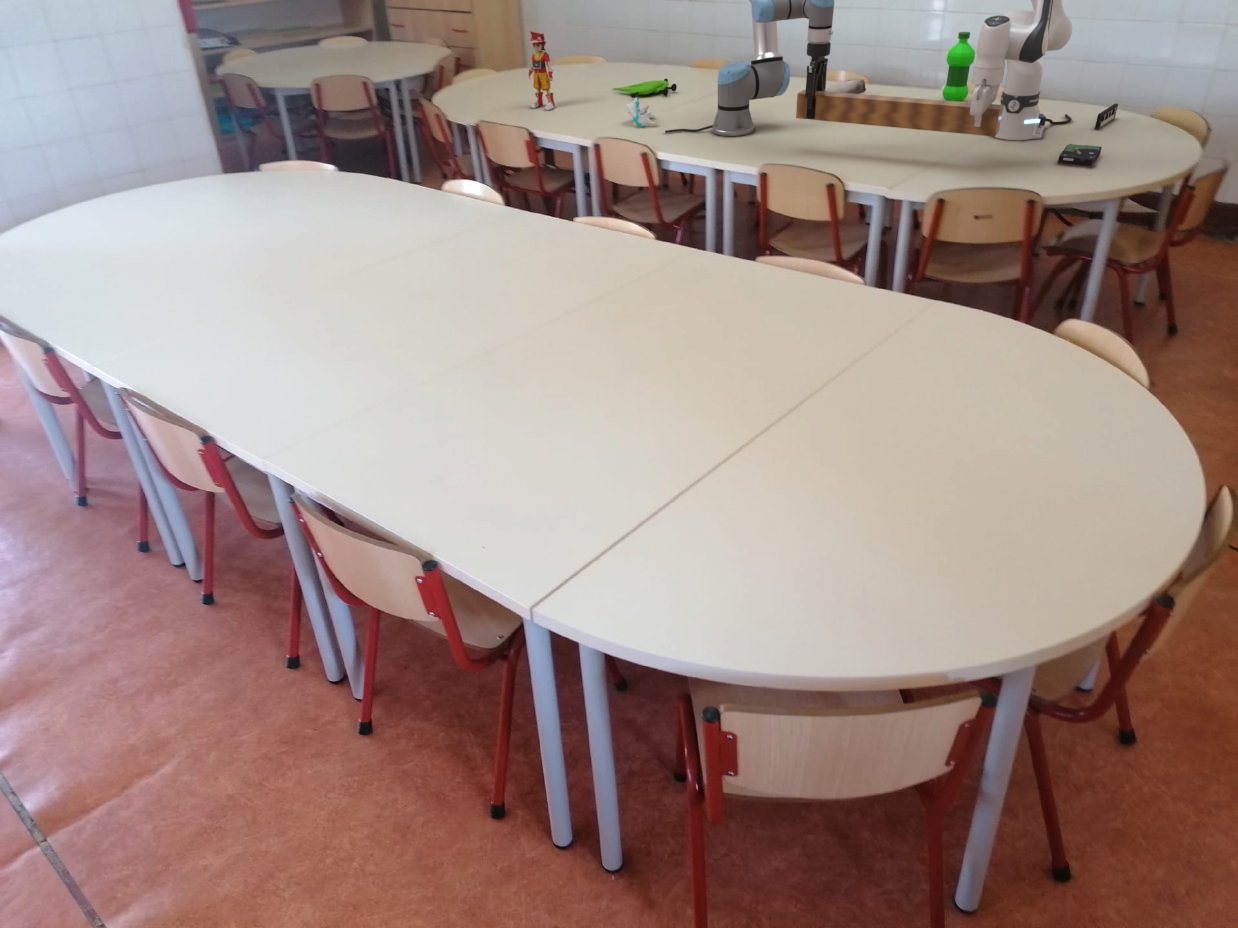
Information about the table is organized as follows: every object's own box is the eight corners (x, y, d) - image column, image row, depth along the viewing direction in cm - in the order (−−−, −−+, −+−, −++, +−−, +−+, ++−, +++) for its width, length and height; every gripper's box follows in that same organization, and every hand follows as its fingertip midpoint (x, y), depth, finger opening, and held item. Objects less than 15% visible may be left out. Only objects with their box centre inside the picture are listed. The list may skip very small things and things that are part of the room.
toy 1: (525, 109, 381) (517, 32, 364) (534, 104, 388) (527, 28, 371) (550, 110, 377) (543, 32, 360) (559, 105, 384) (553, 28, 367)
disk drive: (1092, 168, 280) (1100, 154, 290) (1094, 159, 278) (1102, 146, 288) (1057, 164, 285) (1065, 151, 295) (1059, 155, 283) (1067, 142, 293)
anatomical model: (623, 97, 354) (648, 90, 354) (629, 123, 360) (653, 116, 359) (626, 106, 342) (652, 99, 341) (633, 133, 348) (658, 126, 347)
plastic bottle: (973, 101, 354) (984, 32, 339) (955, 106, 349) (966, 36, 335) (952, 97, 361) (962, 29, 346) (934, 102, 356) (944, 33, 342)
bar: (795, 118, 305) (797, 93, 301) (801, 114, 309) (803, 89, 304) (994, 136, 277) (999, 109, 272) (998, 132, 281) (1003, 105, 276)
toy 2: (686, 85, 398) (631, 84, 414) (685, 72, 395) (629, 72, 411) (651, 104, 381) (596, 103, 397) (650, 92, 378) (594, 91, 394)
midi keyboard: (1098, 129, 313) (1101, 114, 311) (1094, 129, 314) (1098, 114, 311) (1114, 118, 324) (1118, 104, 321) (1111, 118, 325) (1114, 103, 322)
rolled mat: (841, 83, 376) (857, 68, 368) (853, 102, 377) (870, 86, 369) (802, 102, 359) (819, 86, 351) (815, 121, 359) (832, 105, 351)
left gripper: (820, 48, 283) (814, 124, 297) (839, 37, 296) (833, 110, 309) (797, 47, 286) (793, 122, 300) (818, 36, 299) (812, 108, 313)
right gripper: (990, 85, 263) (982, 133, 271) (1005, 69, 277) (997, 115, 285) (968, 83, 266) (961, 131, 274) (984, 68, 280) (977, 114, 288)
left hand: (813, 116), depth 305 cm, fingers closed on bar, 6 cm apart
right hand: (980, 123), depth 280 cm, fingers closed on bar, 5 cm apart
